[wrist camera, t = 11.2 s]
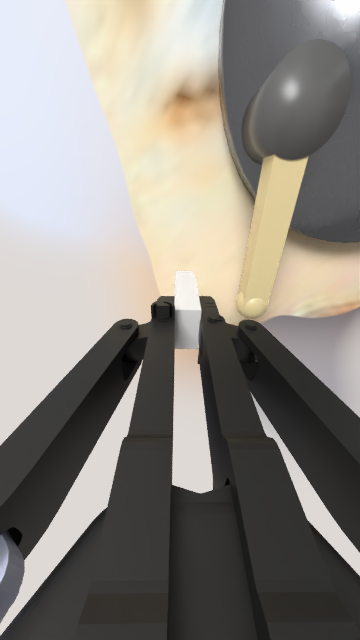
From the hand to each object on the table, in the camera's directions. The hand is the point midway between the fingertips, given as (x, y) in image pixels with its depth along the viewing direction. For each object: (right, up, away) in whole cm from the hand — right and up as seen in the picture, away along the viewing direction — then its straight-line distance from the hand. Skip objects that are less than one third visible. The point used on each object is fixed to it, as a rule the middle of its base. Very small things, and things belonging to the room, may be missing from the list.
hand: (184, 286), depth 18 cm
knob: (+7, +7, +2) cm, 10 cm away
